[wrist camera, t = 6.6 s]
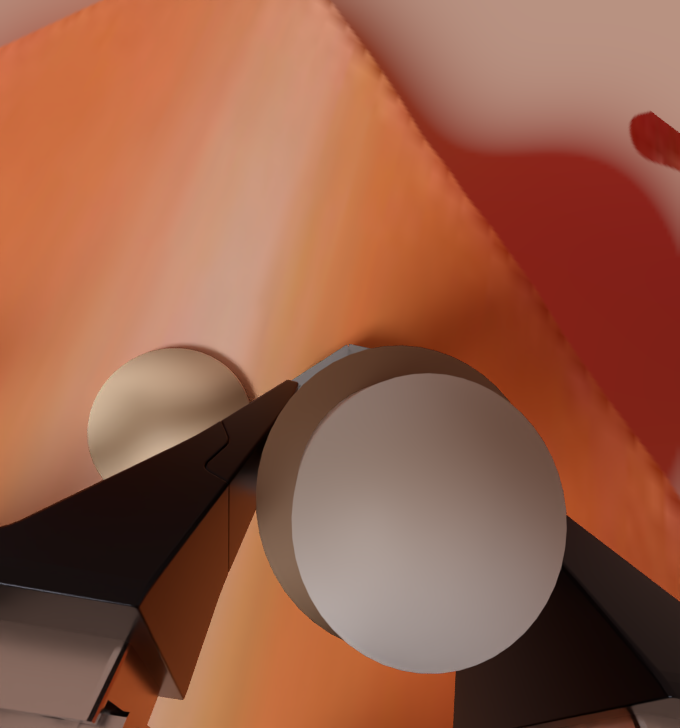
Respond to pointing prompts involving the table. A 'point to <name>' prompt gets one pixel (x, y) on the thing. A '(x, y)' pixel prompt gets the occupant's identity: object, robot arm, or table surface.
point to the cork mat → (158, 406)
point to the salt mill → (411, 509)
